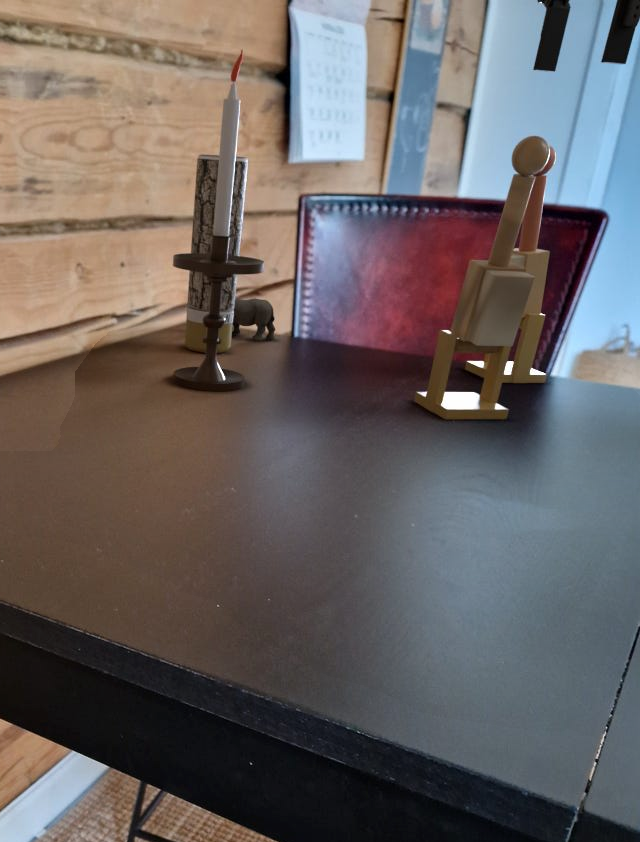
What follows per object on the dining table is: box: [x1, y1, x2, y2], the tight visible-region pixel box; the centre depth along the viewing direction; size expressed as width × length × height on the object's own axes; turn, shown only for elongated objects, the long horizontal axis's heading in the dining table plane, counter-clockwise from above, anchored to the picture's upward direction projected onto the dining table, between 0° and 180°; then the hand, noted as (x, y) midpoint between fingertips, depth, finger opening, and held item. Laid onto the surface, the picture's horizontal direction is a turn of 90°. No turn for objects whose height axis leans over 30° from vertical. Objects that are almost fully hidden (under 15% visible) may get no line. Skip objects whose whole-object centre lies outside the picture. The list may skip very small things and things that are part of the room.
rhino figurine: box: [231, 296, 276, 342], centre depth 136 cm, size 4×14×6 cm, turn 68°
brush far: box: [510, 144, 557, 330], centre depth 113 cm, size 22×5×6 cm
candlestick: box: [172, 49, 265, 392], centre depth 100 cm, size 11×11×35 cm
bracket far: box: [464, 313, 548, 384], centre depth 120 cm, size 8×8×9 cm
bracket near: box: [413, 329, 512, 420], centre depth 101 cm, size 8×8×9 cm
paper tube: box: [184, 153, 249, 354], centre depth 120 cm, size 7×7×25 cm
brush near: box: [450, 135, 550, 354], centre depth 93 cm, size 22×5×6 cm
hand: (576, 67), depth 104 cm, fingers open, 13 cm apart
